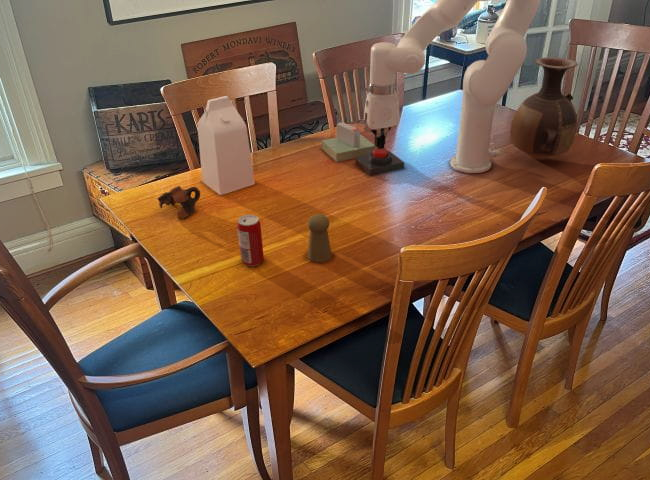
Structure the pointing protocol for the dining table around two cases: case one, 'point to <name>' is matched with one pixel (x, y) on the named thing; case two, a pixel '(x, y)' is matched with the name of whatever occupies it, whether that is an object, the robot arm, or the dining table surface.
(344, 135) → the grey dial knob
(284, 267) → the dining table surface
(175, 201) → the brown animal figurine
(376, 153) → the tap button
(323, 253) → the brown pawn
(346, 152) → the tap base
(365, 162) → the button block
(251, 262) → the soda can
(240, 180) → the milk
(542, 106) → the vase
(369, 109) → the robot arm
